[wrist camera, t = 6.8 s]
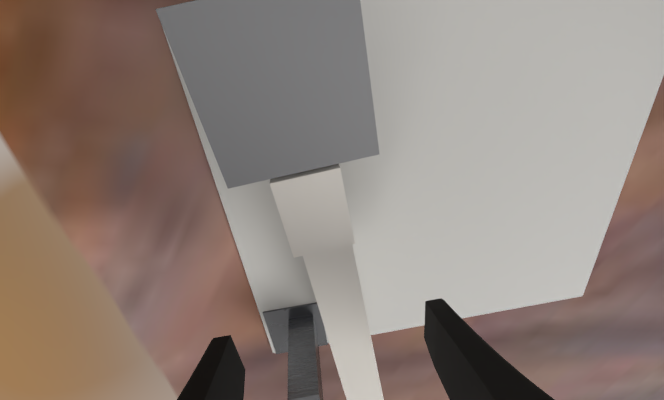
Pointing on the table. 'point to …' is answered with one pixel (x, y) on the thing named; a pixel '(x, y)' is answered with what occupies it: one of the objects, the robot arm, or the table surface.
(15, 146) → the table surface
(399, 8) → the mat
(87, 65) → the table surface
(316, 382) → the dark grey stepped block
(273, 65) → the gate
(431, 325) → the robot arm
